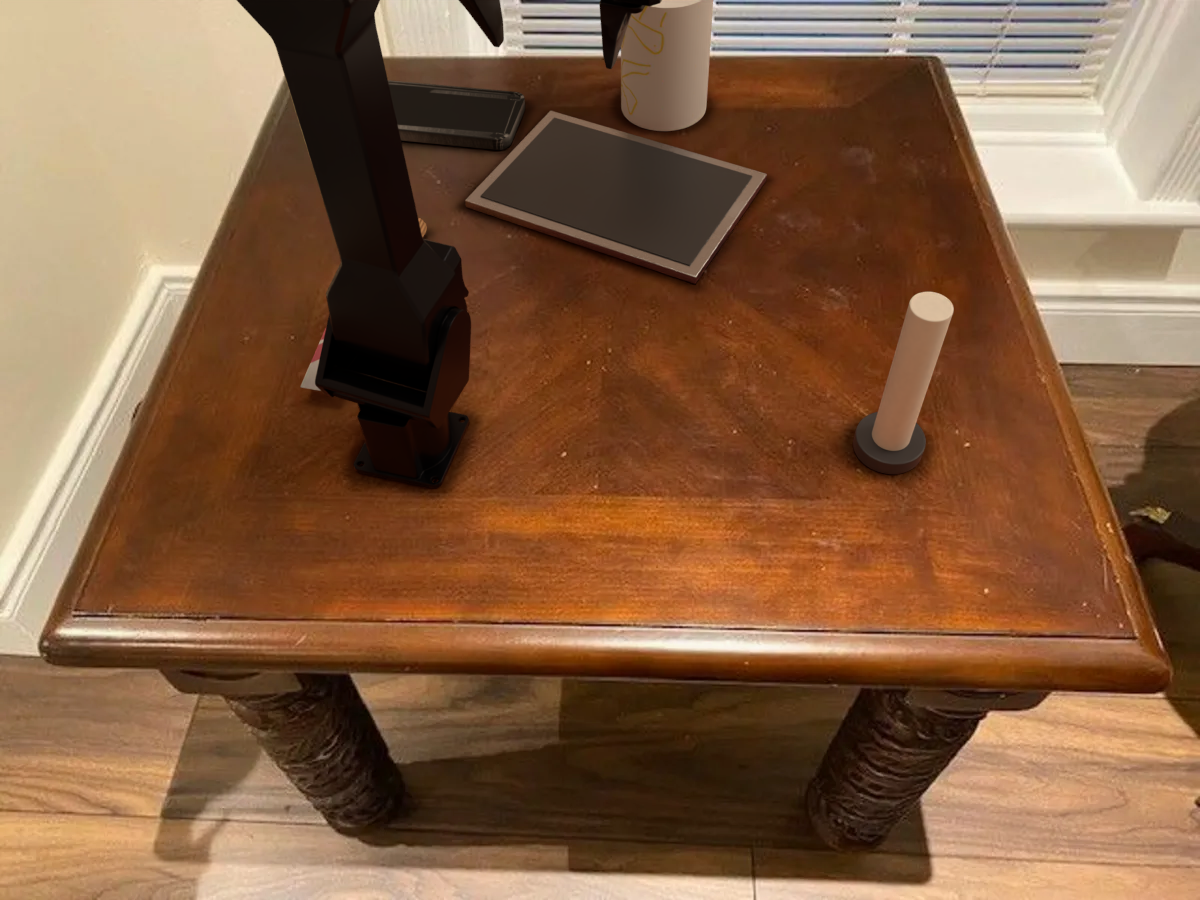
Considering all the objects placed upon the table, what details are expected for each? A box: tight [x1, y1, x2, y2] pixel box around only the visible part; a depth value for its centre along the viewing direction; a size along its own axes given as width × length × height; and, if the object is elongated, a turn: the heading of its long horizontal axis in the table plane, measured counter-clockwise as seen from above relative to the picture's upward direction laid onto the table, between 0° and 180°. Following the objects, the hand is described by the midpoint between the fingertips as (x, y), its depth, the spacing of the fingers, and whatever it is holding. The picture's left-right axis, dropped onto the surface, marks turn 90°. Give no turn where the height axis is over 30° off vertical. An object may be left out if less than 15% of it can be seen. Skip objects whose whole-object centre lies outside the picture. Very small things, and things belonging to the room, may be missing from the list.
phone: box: [388, 79, 526, 151], centre depth 98 cm, size 8×1×15 cm
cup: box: [620, 0, 714, 132], centre depth 94 cm, size 8×8×12 cm
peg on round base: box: [852, 291, 955, 475], centre depth 67 cm, size 5×5×14 cm
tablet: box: [464, 110, 768, 285], centre depth 90 cm, size 22×15×1 cm
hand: (554, 54), depth 78 cm, fingers open, 9 cm apart
